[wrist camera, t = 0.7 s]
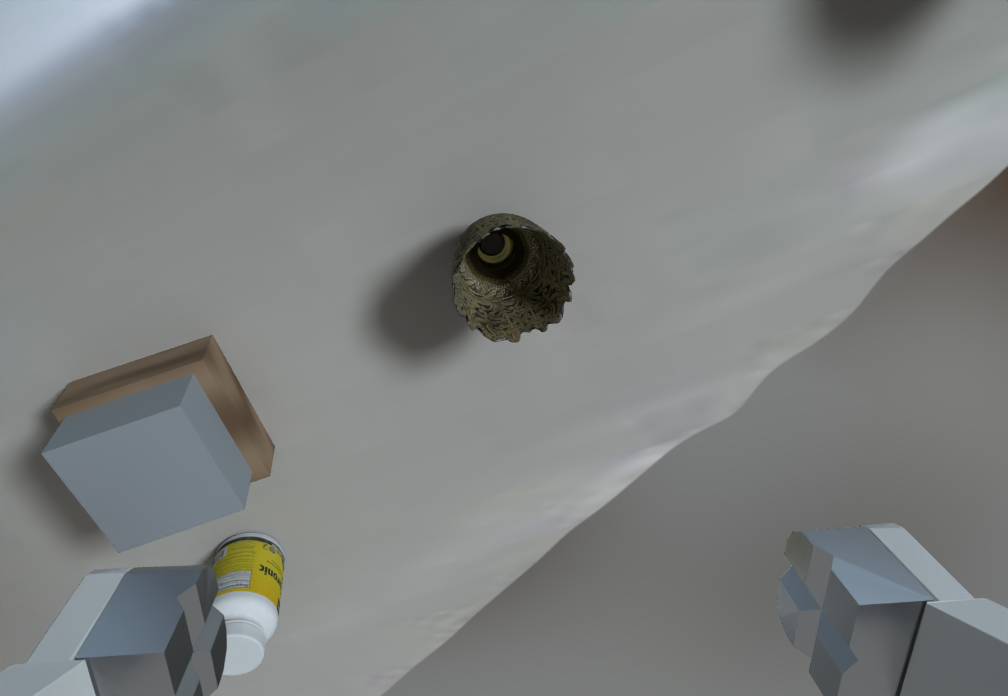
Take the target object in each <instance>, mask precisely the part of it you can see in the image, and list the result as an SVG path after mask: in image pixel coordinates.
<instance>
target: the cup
mask: <svg viewBox="0 0 1008 696" xmlns="http://www.w3.org/2000/svg"><path fill="white" fill-rule="evenodd" d="M491 234H500V235H501V236H502V238H503V240H504V246H503V249H502V250H501V251H500V252H499V253H498V254H495V255H488V254H486V253H484V252H483V250H482V249H481V242H482V240H483V239H484V238H486V237H487V236H489V235H491ZM565 249H566V248H565V247H564V245H563V244H562V243H560V242H559V241H557V240H556V239H555V238H554V237H553V236H552V235H550V234H549V233H548V232H546V231H545V230H544V229H542V228H541V227H539V226H538V225H536V224H535V223H533V222H532V221H530V220H528V219H526V218H524V217H521V216H518V215H514V214H507V213H499V214H492V215H489V216H486V217H483V218H481V219H479V220H477V221H476V222H474V223H473V224H472V225H470V226H469V227H468V228H467V229H466V230H465V231H464V233H463V234H462V236H461V237H460V239H459V241H458V243H457V245H456V247H455V250H454V254H453V260H452V294H453V302H454V305H456V308H457V311H458V314H459V315H460V316H462V317H463V318H464V317H465V319H466V321H467V324H468V325H469V327H470V328H471V330H475V329H477V330H479V331H480V332H481V333H482V335H483V336H485V337H486V338H488V339H489V340H491V341H493V342H499V341H504V340H507V339H508V340H509V341H510V342H519V341H520V335H521V333H524V332H527V333H529V332H531V331H532V330H534V329H537V330H538V329H539V330H540V331H541V332H545V331H546V330H547V329H548V324H554V323H559V322H560V320H561V319H562V317H563V312H564V303H565V302H566V301H567V302H571V301H572V292H571V291H570V289H569V286H568V285H572V283H573V282H574V281H575V276H574V274H573V270H572V269H573V267H574V265H573V263H572V261H571V259H570V257H569V256H568V255H567V253H566V252H565Z"/></svg>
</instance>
